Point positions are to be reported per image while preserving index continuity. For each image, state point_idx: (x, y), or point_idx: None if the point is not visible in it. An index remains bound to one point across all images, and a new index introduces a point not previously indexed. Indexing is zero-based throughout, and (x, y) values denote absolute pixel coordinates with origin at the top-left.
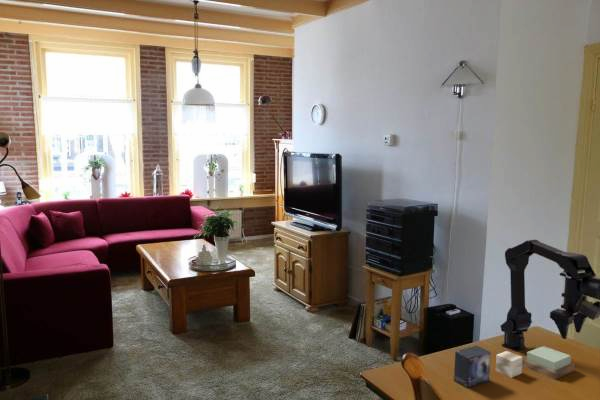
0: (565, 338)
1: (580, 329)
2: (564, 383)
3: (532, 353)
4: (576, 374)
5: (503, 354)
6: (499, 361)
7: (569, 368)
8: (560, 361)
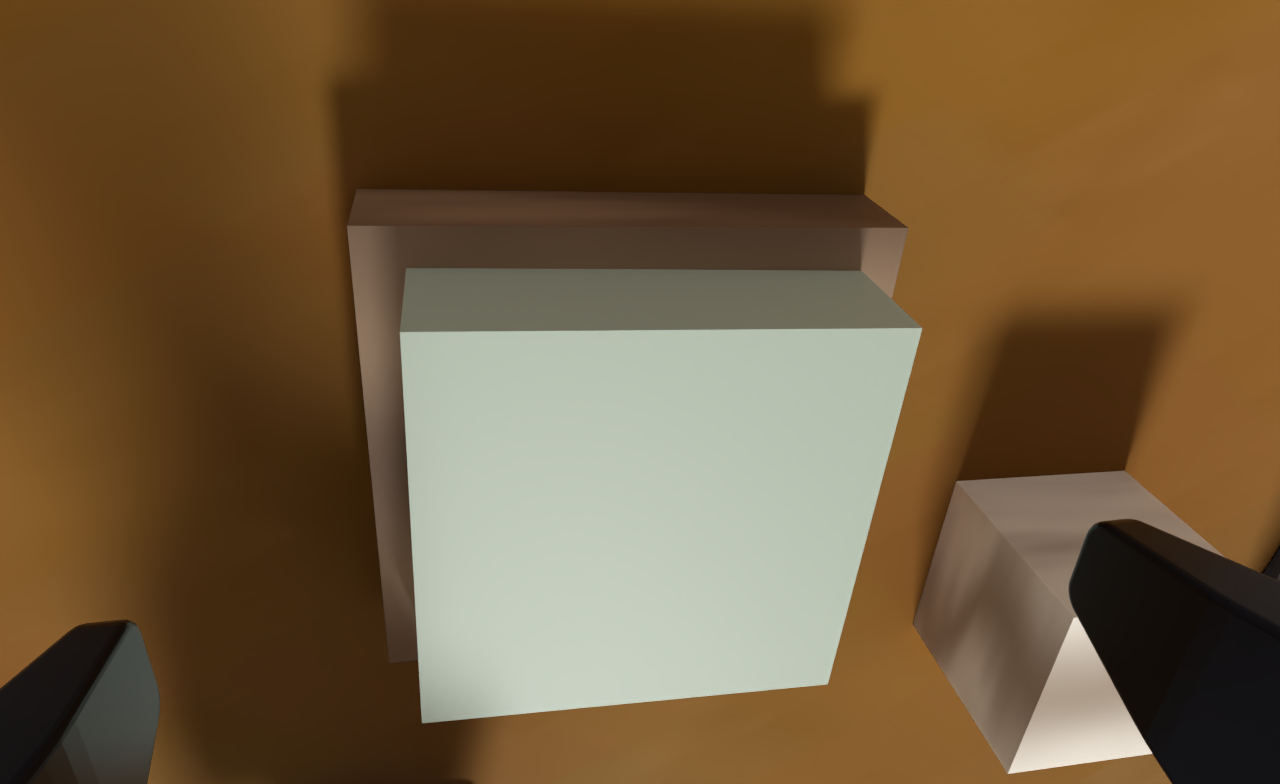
0: (1146, 528)
1: (36, 725)
2: (892, 60)
3: (820, 636)
4: (460, 99)
5: (1131, 731)
6: None
7: (508, 214)
8: (738, 317)
